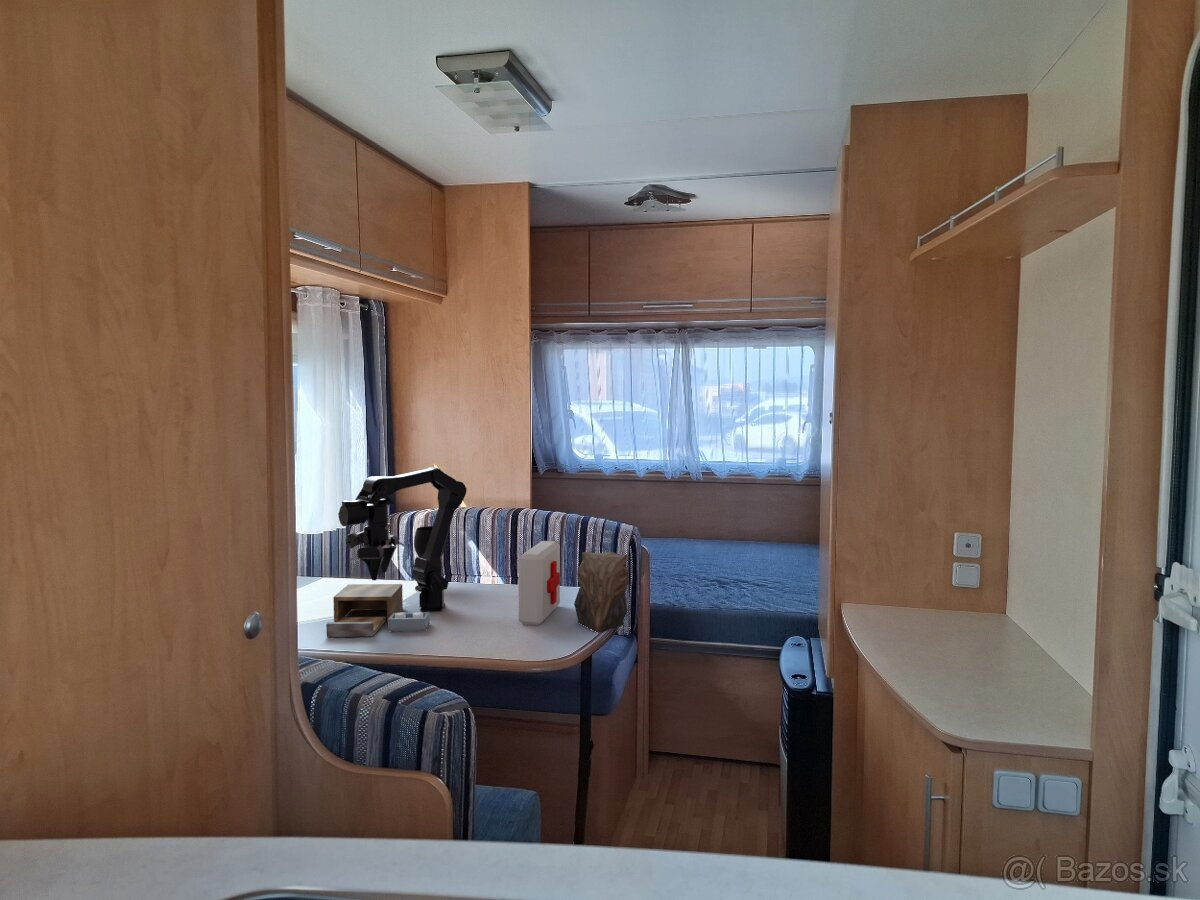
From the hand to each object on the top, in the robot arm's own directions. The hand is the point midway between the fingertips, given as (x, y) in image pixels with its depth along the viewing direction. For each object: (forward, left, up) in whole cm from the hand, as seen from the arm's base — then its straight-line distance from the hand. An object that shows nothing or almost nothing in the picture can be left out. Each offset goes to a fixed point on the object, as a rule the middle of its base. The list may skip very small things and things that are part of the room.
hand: (379, 576), depth 213 cm
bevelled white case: (-46, -4, -13) cm, 48 cm away
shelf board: (+4, +8, -12) cm, 15 cm away
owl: (-62, +7, -13) cm, 64 cm away
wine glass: (-8, -36, -13) cm, 39 cm away
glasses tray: (-10, +7, -13) cm, 18 cm away
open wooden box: (+4, -5, -13) cm, 14 cm away
